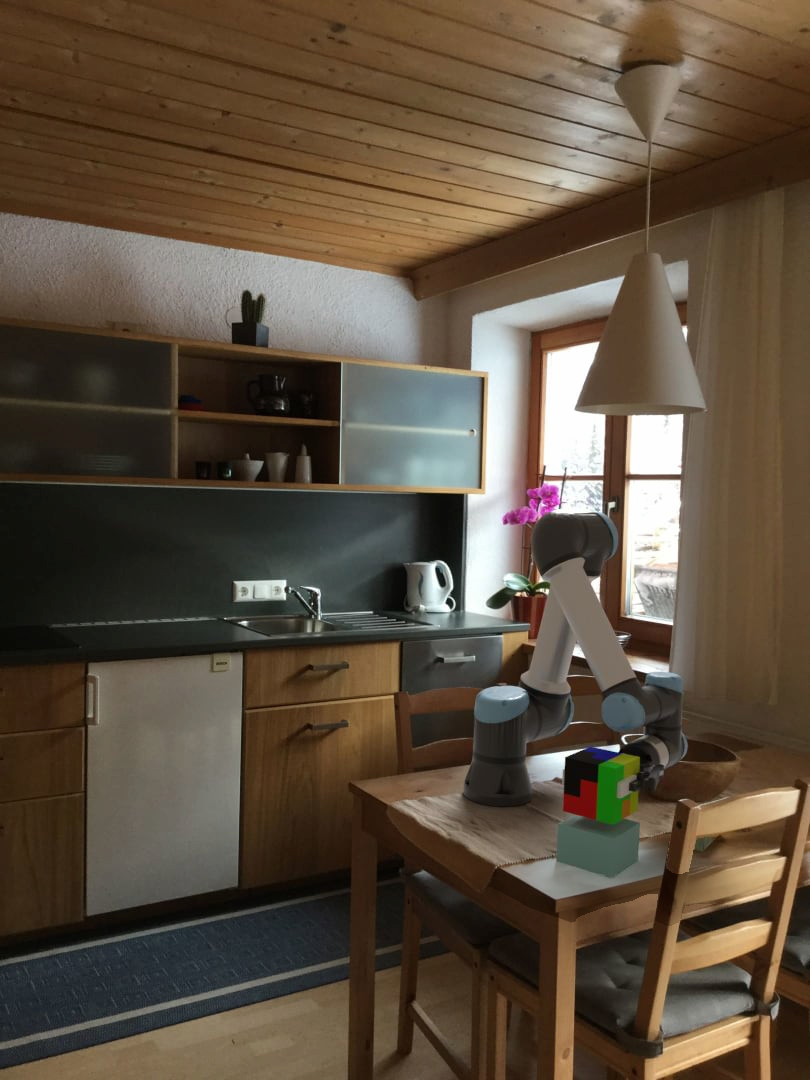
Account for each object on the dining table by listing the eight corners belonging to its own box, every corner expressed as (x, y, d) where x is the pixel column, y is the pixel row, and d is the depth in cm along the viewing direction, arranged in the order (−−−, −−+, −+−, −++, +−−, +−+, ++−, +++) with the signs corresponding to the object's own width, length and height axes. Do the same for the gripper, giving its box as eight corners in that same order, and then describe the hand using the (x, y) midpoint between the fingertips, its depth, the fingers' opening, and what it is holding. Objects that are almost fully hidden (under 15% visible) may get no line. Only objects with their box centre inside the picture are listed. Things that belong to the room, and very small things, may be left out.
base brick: (556, 860, 171) (558, 823, 171) (584, 844, 180) (585, 808, 179) (611, 878, 164) (613, 839, 164) (638, 859, 173) (640, 822, 173)
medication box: (703, 853, 178) (705, 832, 178) (689, 849, 179) (690, 829, 179) (720, 835, 188) (722, 815, 188) (707, 831, 189) (708, 812, 189)
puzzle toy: (588, 798, 178) (590, 746, 178) (637, 810, 172) (639, 757, 172) (562, 811, 171) (565, 757, 170) (613, 824, 164) (615, 768, 164)
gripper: (697, 789, 179) (650, 819, 161) (589, 765, 192) (535, 790, 175) (699, 750, 178) (652, 776, 161) (591, 729, 192) (536, 750, 174)
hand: (591, 783), depth 168 cm, fingers closed on puzzle toy, 10 cm apart
